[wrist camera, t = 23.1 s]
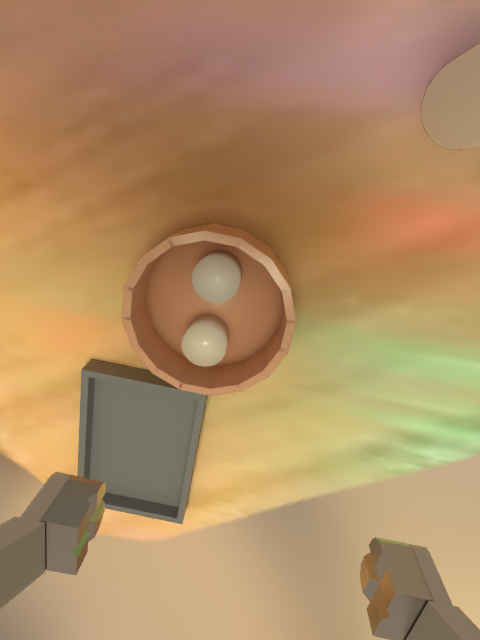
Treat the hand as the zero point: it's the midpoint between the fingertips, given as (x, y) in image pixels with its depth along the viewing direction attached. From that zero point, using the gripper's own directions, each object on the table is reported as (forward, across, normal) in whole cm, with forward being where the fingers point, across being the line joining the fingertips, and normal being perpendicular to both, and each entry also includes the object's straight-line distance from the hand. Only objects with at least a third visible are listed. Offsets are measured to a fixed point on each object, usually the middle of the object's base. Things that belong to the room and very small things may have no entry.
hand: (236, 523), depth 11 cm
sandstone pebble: (+28, +4, +7) cm, 29 cm away
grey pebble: (+28, +4, 0) cm, 29 cm away
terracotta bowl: (+29, +4, +3) cm, 30 cm away
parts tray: (+29, +10, +23) cm, 39 cm away
